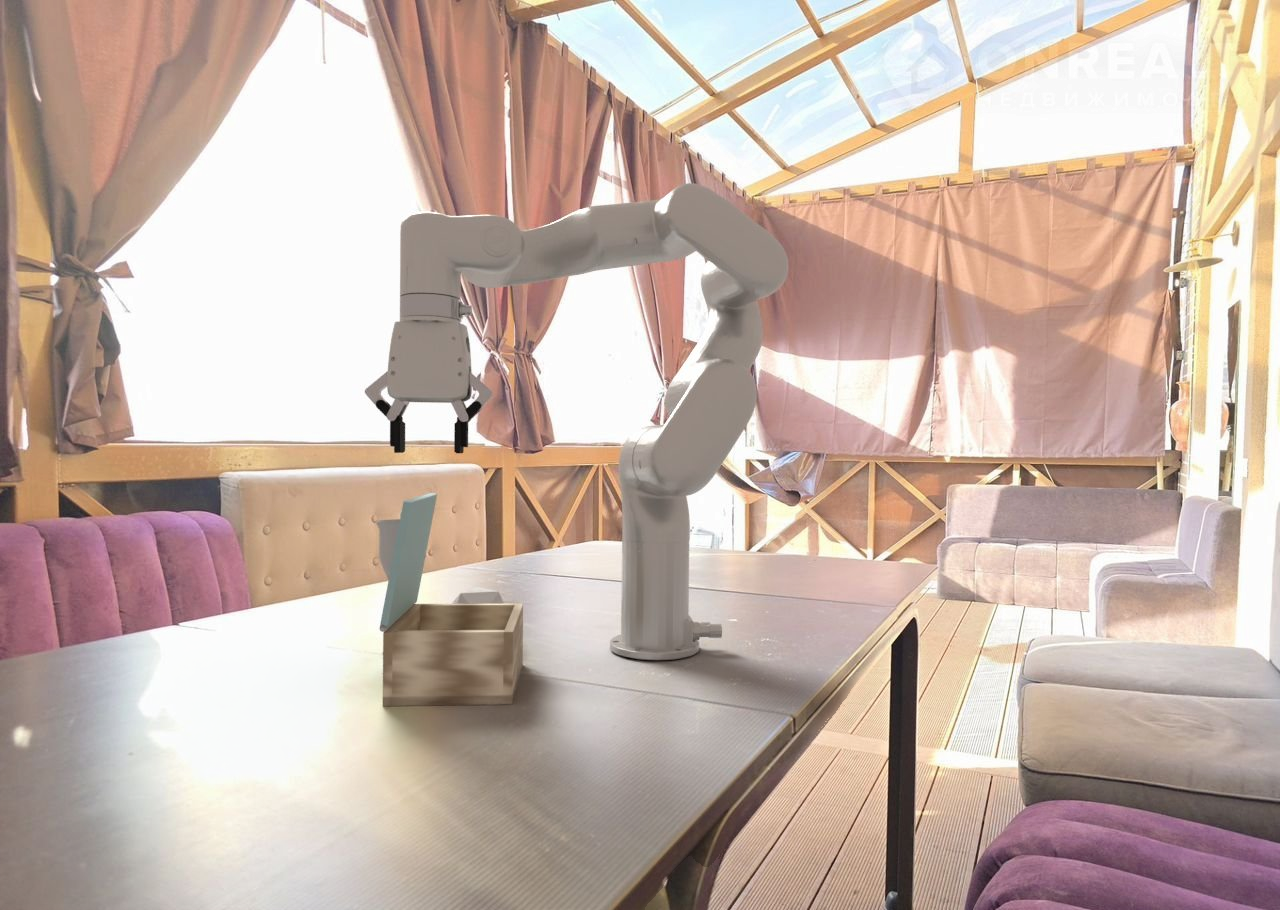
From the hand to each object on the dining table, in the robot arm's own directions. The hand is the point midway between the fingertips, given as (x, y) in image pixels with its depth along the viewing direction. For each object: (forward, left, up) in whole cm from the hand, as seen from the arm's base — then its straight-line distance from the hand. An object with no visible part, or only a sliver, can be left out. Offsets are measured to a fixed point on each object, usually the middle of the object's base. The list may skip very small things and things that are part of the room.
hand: (429, 451), depth 101 cm
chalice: (+5, -8, -28) cm, 29 cm away
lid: (0, +7, -13) cm, 14 cm away
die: (-5, -11, -28) cm, 30 cm away
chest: (-5, +7, -28) cm, 29 cm away
